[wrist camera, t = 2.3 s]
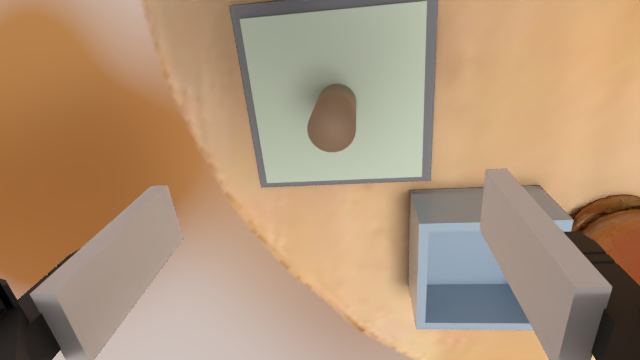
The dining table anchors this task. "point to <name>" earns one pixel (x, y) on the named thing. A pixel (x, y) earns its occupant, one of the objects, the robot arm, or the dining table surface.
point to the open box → (462, 262)
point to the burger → (614, 229)
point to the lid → (339, 92)
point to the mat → (294, 5)
